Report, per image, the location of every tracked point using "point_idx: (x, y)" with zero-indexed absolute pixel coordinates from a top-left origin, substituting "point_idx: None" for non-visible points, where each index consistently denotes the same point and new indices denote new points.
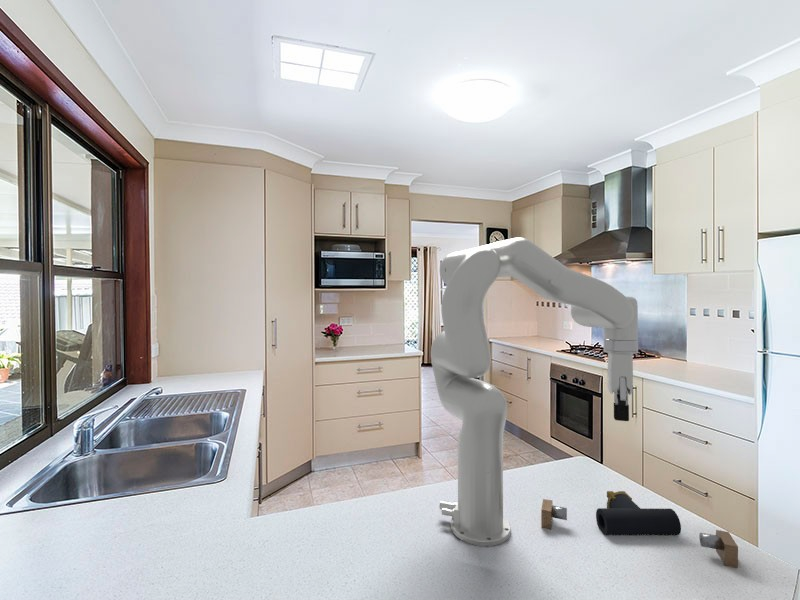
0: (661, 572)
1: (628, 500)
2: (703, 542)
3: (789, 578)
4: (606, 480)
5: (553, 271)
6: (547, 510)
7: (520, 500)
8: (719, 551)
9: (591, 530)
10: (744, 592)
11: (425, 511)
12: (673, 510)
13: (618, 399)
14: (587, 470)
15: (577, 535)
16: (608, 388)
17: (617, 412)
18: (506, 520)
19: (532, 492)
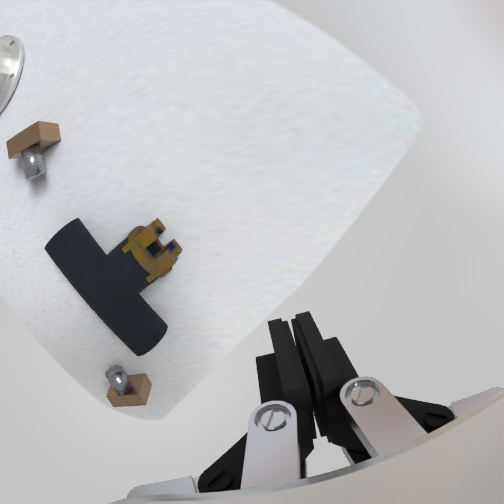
0: (43, 314)
1: (121, 281)
2: (106, 373)
3: (144, 419)
4: (324, 187)
5: None
6: (8, 151)
7: (94, 59)
8: (130, 379)
9: (65, 212)
10: (80, 383)
11: (10, 3)
12: (145, 353)
13: (207, 473)
14: (359, 137)
15: (39, 198)
16: (320, 497)
17: (275, 365)
18: (5, 97)
19: (143, 58)
